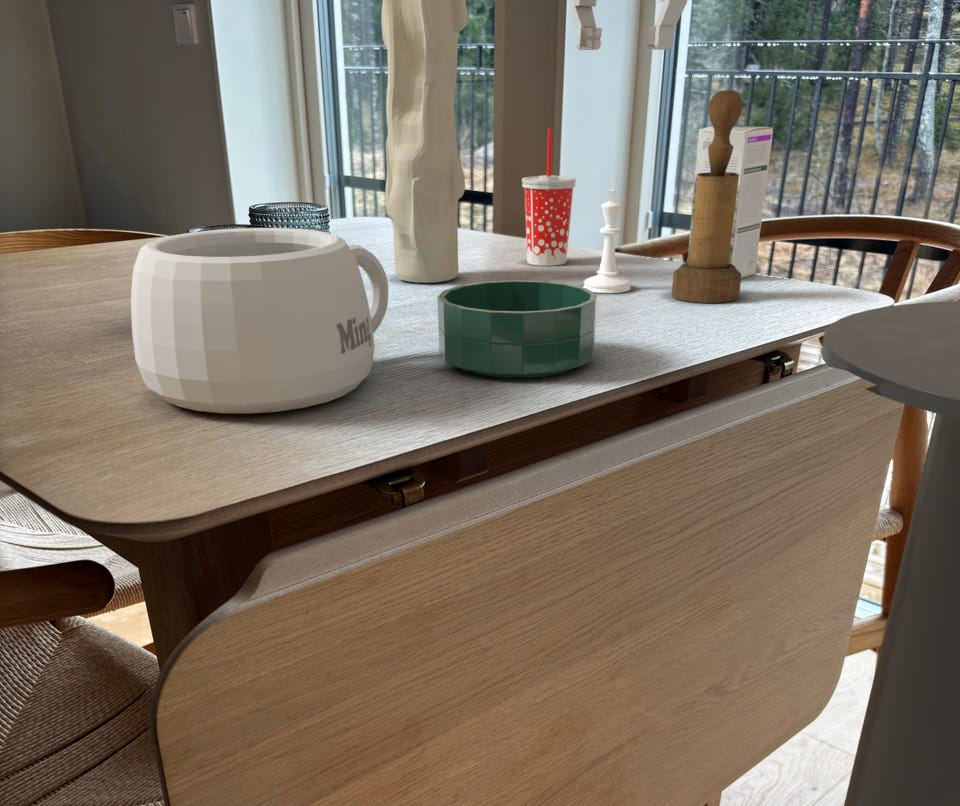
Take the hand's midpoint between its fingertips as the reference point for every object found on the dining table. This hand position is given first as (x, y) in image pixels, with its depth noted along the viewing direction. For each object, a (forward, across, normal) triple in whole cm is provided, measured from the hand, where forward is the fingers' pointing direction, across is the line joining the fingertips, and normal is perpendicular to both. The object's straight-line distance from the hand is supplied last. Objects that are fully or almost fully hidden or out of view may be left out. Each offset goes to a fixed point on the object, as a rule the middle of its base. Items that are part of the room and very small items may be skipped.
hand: (622, 49), depth 89 cm
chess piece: (+21, +1, -1) cm, 21 cm away
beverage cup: (+22, +17, -6) cm, 28 cm away
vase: (+22, +17, +11) cm, 30 cm away
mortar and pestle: (+21, -8, -6) cm, 24 cm away
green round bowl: (+21, -16, +24) cm, 36 cm away
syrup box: (+21, -1, -16) cm, 27 cm away
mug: (+22, -10, +41) cm, 47 cm away
